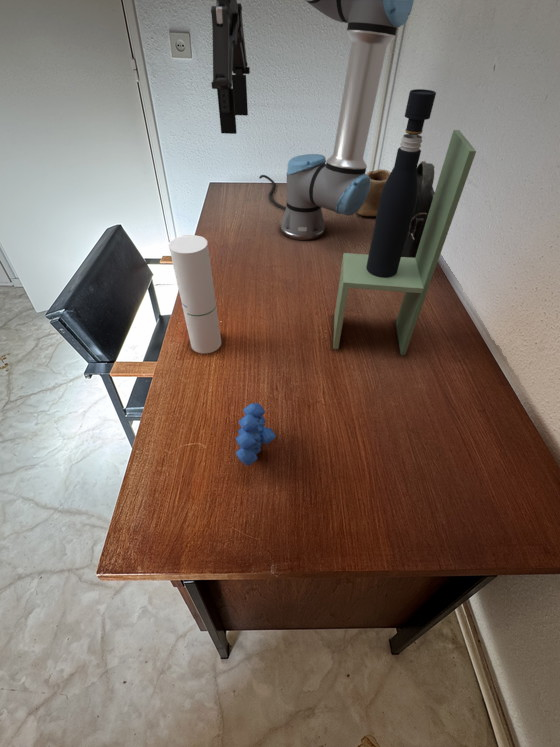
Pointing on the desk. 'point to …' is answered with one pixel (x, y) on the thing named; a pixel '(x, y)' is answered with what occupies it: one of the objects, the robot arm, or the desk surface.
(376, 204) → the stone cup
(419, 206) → the shoulder bag
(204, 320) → the cylindrical container
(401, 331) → the green miniature chair
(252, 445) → the grapes
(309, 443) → the desk surface
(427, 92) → the wine bottle
